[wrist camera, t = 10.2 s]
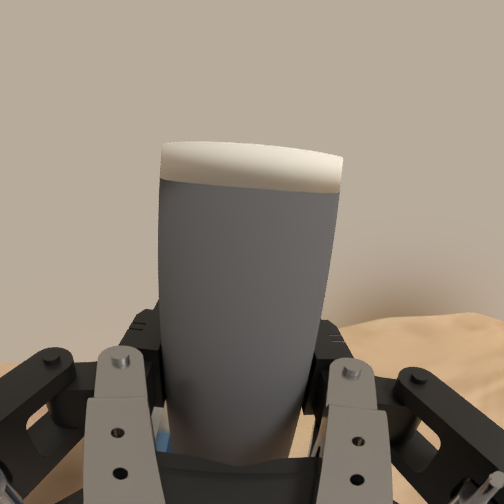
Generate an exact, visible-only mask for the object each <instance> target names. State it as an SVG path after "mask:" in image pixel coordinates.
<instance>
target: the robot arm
mask: <svg viewBox="0 0 504 504" xmlns="http://www.w3.org/2000/svg"><path fill="white" fill-rule="evenodd" d="M165 401H166V395H165V385H164V374H163V362H162V348H161V332H160V312H159V300H158V302H157V304H156V306H155V308H154V309H153V310H149V309H145V310H143V311H142V312H140V313H139V314H137V315H136V317H135V318H134V320H133V322H132V323H131V325H130V327H129V329H128V330H127V332H126V333H125V335H124V337H123V338H122V340H121V342H120V344H119V345H118V346H113V347H110V348H107V349H105V350H104V351H102V352H101V353H100V355H99V357H98V361H96V362H80V363H74V360H73V356H72V354H71V353H70V352H69V351H68V350H66V349H63V348H58V347H53V348H47V349H43V350H41V351H39V352H37V353H36V354H34V355H33V356H32V357H30V358H29V359H27V360H26V361H24V362H23V363H21V364H20V365H18V366H17V367H15V368H14V369H13V370H11V371H10V372H8V373H7V374H5V375H4V376H2V377H1V378H0V504H23V500H24V499H25V497H26V496H27V495H28V494H29V493H30V492H31V491H32V490H33V489H34V488H35V487H36V486H37V485H38V484H39V483H40V482H41V481H42V480H43V479H44V478H45V477H46V475H47V474H48V473H49V472H50V471H51V470H52V469H53V468H54V467H55V466H56V465H57V464H58V463H59V462H60V461H61V460H62V459H63V458H64V457H65V456H66V454H67V453H68V452H69V451H70V450H71V449H72V448H73V447H74V446H75V445H76V444H77V443H78V442H79V441H80V440H81V439H82V438H83V437H84V436H85V437H84V463H83V488H82V489H81V490H79V491H77V492H75V493H74V494H72V495H70V496H68V497H66V498H65V499H63V500H61V501H59V502H57V503H55V504H398V503H397V502H395V501H394V500H393V490H392V469H391V463H392V464H393V465H394V466H395V467H396V469H397V470H398V471H399V472H400V473H401V474H402V475H403V476H404V478H405V479H406V480H407V481H408V482H409V483H410V484H411V485H412V486H413V487H414V489H415V490H416V491H417V492H418V493H419V494H420V495H421V496H422V497H423V498H424V500H425V501H426V502H427V503H428V504H504V430H503V429H502V428H501V427H499V426H498V425H497V424H496V423H494V422H493V421H492V420H491V419H489V418H488V417H487V416H486V415H484V414H483V413H482V412H481V411H479V410H478V409H477V408H476V407H474V406H473V405H472V404H470V403H469V402H468V401H467V400H465V399H464V398H463V397H462V396H460V395H459V394H458V393H456V392H455V391H454V390H453V389H451V388H450V387H449V386H448V385H446V384H445V383H444V382H442V381H441V380H440V379H439V378H437V377H436V376H435V375H433V374H432V373H431V372H429V371H427V370H425V369H422V368H418V367H407V368H404V369H402V370H401V371H400V372H399V375H398V377H397V379H390V378H382V377H377V376H374V372H373V369H372V368H371V367H370V366H369V365H368V364H367V363H365V362H363V361H361V360H358V359H354V357H353V356H352V354H351V352H350V350H349V348H348V346H347V345H346V343H345V342H344V339H343V337H342V336H341V334H340V332H339V330H338V328H337V327H336V326H335V325H334V324H332V323H331V322H330V321H328V320H321V319H320V324H319V329H318V334H317V339H316V344H315V349H314V354H313V359H312V363H311V368H310V372H309V377H308V381H307V386H306V390H305V394H304V398H303V402H302V410H303V414H304V415H315V422H314V425H313V429H312V435H311V441H310V446H309V452H308V457H303V458H280V459H276V460H271V461H266V462H261V463H256V464H251V465H245V466H232V465H228V464H224V463H220V462H216V461H212V460H208V459H205V458H201V457H198V456H194V455H184V454H175V453H167V452H160V451H157V447H156V442H155V436H154V429H153V423H152V417H151V415H152V412H153V409H154V407H160V408H164V405H165ZM45 404H46V405H47V408H48V410H49V411H48V412H47V413H46V414H45V415H44V416H42V417H41V418H40V419H39V420H38V421H37V422H36V423H34V424H33V425H32V426H31V427H30V428H29V429H28V430H26V424H27V421H28V419H29V418H30V417H31V416H32V415H33V414H34V413H35V412H36V411H37V410H39V409H40V408H41V407H42V406H43V405H45ZM421 420H422V421H423V422H424V423H425V424H426V425H427V426H428V427H429V428H431V429H432V430H433V431H434V432H435V433H436V434H437V435H438V437H439V438H440V442H441V445H440V449H439V451H438V450H437V449H436V448H435V447H434V446H433V445H432V444H431V443H430V442H429V441H428V440H427V439H426V438H424V437H423V436H422V435H421V434H420V433H419V432H418V431H417V430H416V429H417V428H418V426H419V424H420V422H421Z"/></svg>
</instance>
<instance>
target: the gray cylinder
mask: <svg viewBox="0 0 504 504" xmlns="http://www.w3.org/2000/svg"><path fill="white" fill-rule="evenodd" d="M342 164H343V158H342V157H339V156H335V155H331V154H326V153H321V152H315V151H309V150H302V149H295V148H288V147H279V146H270V145H259V144H245V143H229V142H170V143H163V144H162V151H161V168H160V188H159V220H158V221H159V222H158V223H159V224H158V225H159V226H158V271H159V272H158V275H159V276H158V279H159V312H160V332H161V348H162V362H163V374H164V385H165V395H166V405H167V414H168V422H169V430H170V438H171V445H172V452H173V453H175V454H184V455H194V456H198V457H201V458H205V459H208V460H212V461H216V462H220V463H224V464H228V465H232V466H245V465H251V464H256V463H261V462H266V461H271V460H276V459H280V458H288V456H289V452H290V449H291V445H292V441H293V438H294V434H295V430H296V426H297V422H298V419H299V415H300V411H301V407H302V402H303V398H304V394H305V390H306V386H307V381H308V377H309V372H310V368H311V363H312V359H313V354H314V349H315V344H316V339H317V334H318V329H319V324H320V319H321V312H322V308H323V301H324V297H325V291H326V285H327V279H328V273H329V267H330V260H331V254H332V246H333V240H334V232H335V225H336V218H337V209H338V201H339V193H340V184H341V175H342Z"/></svg>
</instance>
